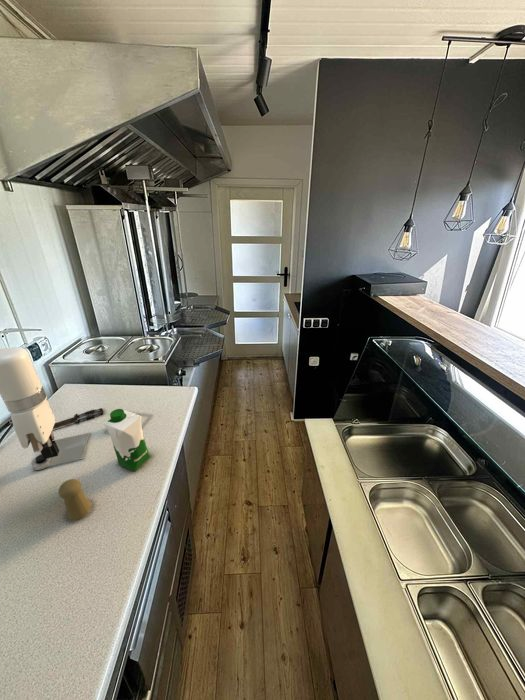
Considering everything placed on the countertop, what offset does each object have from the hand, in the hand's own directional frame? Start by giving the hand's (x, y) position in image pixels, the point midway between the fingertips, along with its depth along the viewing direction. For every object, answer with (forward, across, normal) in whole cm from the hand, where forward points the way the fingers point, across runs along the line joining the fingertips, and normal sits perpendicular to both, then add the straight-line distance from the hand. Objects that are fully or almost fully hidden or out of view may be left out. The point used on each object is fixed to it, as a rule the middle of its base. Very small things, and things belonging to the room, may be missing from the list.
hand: (52, 455), depth 76 cm
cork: (+19, +4, +2) cm, 19 cm away
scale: (+19, -24, -7) cm, 31 cm away
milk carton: (+19, -10, +17) cm, 27 cm away
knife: (+19, -40, -9) cm, 45 cm away
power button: (+16, -19, -12) cm, 28 cm away
